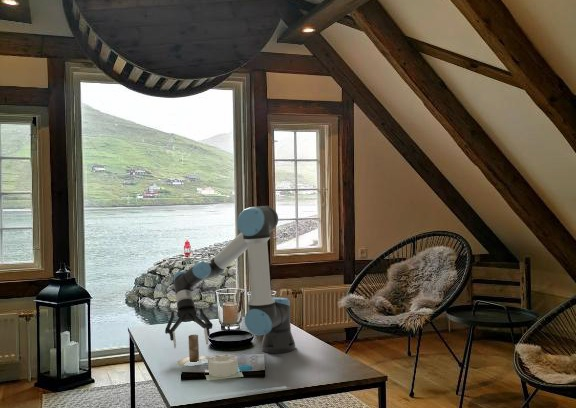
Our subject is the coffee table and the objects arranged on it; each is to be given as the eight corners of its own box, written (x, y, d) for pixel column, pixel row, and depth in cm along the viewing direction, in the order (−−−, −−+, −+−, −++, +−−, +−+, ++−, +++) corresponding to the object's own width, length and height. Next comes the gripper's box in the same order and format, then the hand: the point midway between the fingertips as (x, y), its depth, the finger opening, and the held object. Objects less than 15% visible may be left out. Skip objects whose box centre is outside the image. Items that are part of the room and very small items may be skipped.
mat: (238, 366, 233) (238, 365, 233) (243, 377, 219) (243, 376, 219) (203, 370, 229) (203, 369, 229) (207, 382, 216) (206, 380, 216)
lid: (209, 356, 249) (208, 330, 248) (212, 366, 235) (211, 338, 235) (176, 359, 246) (175, 333, 245) (178, 369, 232) (177, 341, 232)
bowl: (235, 366, 231) (234, 353, 231) (239, 375, 220) (238, 361, 220) (207, 369, 228) (207, 356, 228) (210, 378, 217) (209, 364, 217)
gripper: (212, 304, 261) (219, 345, 248) (156, 310, 254) (161, 352, 240) (213, 295, 256) (221, 336, 242) (157, 300, 249) (161, 343, 235)
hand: (191, 344), depth 241 cm, fingers open, 13 cm apart
